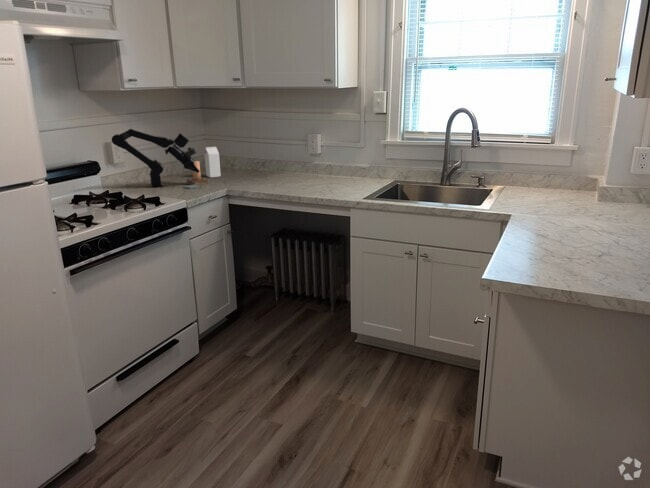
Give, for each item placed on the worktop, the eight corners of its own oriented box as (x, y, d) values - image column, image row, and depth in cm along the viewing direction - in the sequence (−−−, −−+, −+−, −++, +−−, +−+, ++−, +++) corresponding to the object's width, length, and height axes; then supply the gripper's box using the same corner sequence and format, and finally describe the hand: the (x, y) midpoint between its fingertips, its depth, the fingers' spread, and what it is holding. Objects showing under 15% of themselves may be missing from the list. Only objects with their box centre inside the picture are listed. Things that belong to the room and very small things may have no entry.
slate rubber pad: (183, 187, 289) (183, 186, 289) (194, 185, 294) (194, 184, 293) (190, 189, 284) (189, 187, 284) (200, 187, 289) (200, 186, 289)
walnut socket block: (187, 183, 300) (186, 179, 299) (200, 181, 306) (199, 177, 305) (195, 185, 294) (194, 181, 293) (208, 183, 300) (207, 179, 299)
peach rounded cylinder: (192, 183, 300) (190, 161, 296) (198, 182, 303) (196, 160, 299) (196, 184, 297) (194, 162, 293) (202, 183, 300) (200, 161, 296)
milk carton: (220, 176, 323) (218, 147, 318) (210, 177, 319) (207, 147, 314) (216, 175, 329) (214, 146, 323) (206, 176, 325) (203, 146, 319)
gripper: (187, 145, 283) (209, 163, 289) (186, 141, 300) (206, 159, 306) (174, 159, 283) (196, 177, 290) (174, 155, 300) (194, 172, 307)
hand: (198, 171), depth 298 cm, fingers closed on peach rounded cylinder, 4 cm apart
